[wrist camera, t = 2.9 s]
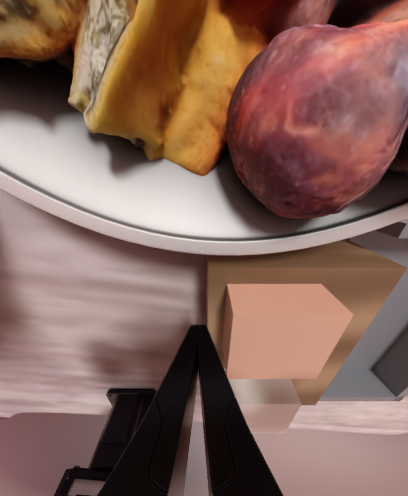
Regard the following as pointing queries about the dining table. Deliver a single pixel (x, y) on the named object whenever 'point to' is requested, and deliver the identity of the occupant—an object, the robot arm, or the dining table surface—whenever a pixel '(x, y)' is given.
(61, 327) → the dining table surface
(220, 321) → the board
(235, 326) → the terracotta tile
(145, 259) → the dining table surface
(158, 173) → the bowl
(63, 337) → the dining table surface
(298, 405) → the cream tile
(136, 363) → the dining table surface
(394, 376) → the tray
